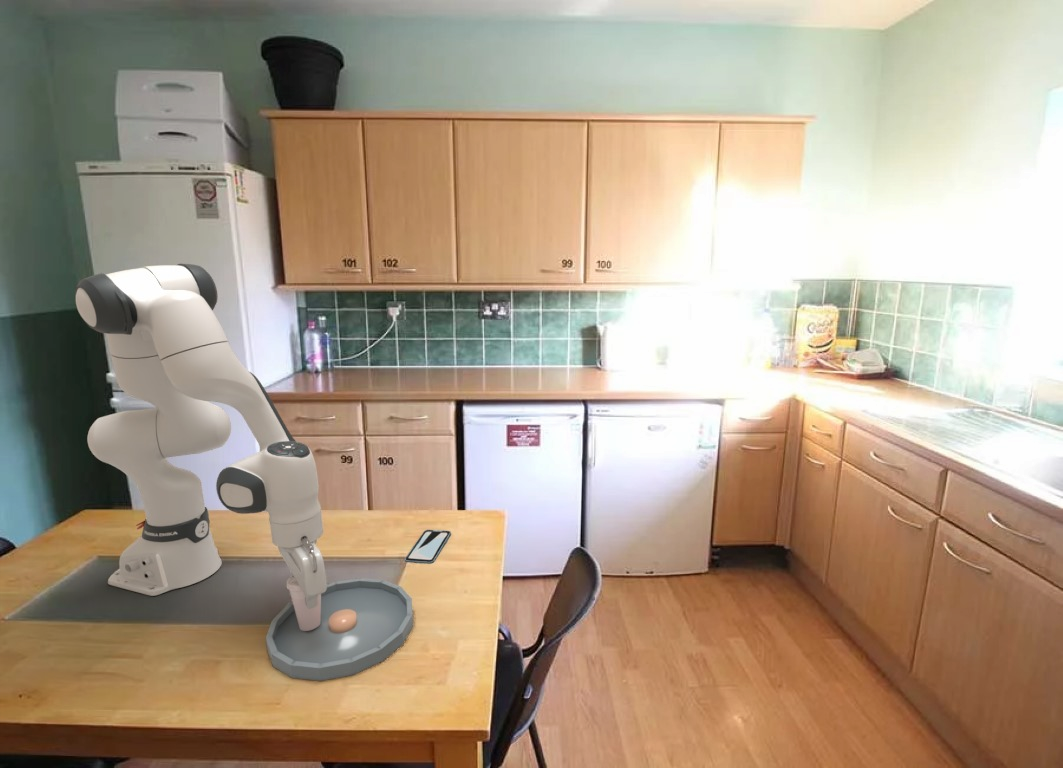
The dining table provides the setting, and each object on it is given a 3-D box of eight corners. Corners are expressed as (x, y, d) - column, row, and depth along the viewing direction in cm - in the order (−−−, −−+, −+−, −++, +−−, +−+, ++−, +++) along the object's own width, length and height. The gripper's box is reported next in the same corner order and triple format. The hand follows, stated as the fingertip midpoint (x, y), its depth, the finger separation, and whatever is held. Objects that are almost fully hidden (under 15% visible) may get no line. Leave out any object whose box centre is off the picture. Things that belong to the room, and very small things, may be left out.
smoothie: (324, 632, 99) (316, 561, 97) (288, 637, 98) (279, 566, 96) (330, 613, 105) (323, 546, 103) (296, 618, 104) (288, 550, 102)
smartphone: (403, 560, 125) (425, 529, 140) (403, 564, 126) (425, 532, 140) (433, 562, 124) (452, 530, 139) (433, 566, 125) (452, 534, 139)
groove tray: (236, 671, 91) (234, 659, 91) (317, 585, 117) (315, 574, 116) (379, 687, 88) (378, 674, 87) (430, 593, 113) (430, 583, 112)
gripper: (332, 544, 93) (339, 614, 96) (300, 504, 108) (307, 566, 111) (294, 556, 89) (302, 628, 92) (266, 513, 105) (274, 576, 108)
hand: (304, 594), depth 102 cm, fingers open, 8 cm apart
